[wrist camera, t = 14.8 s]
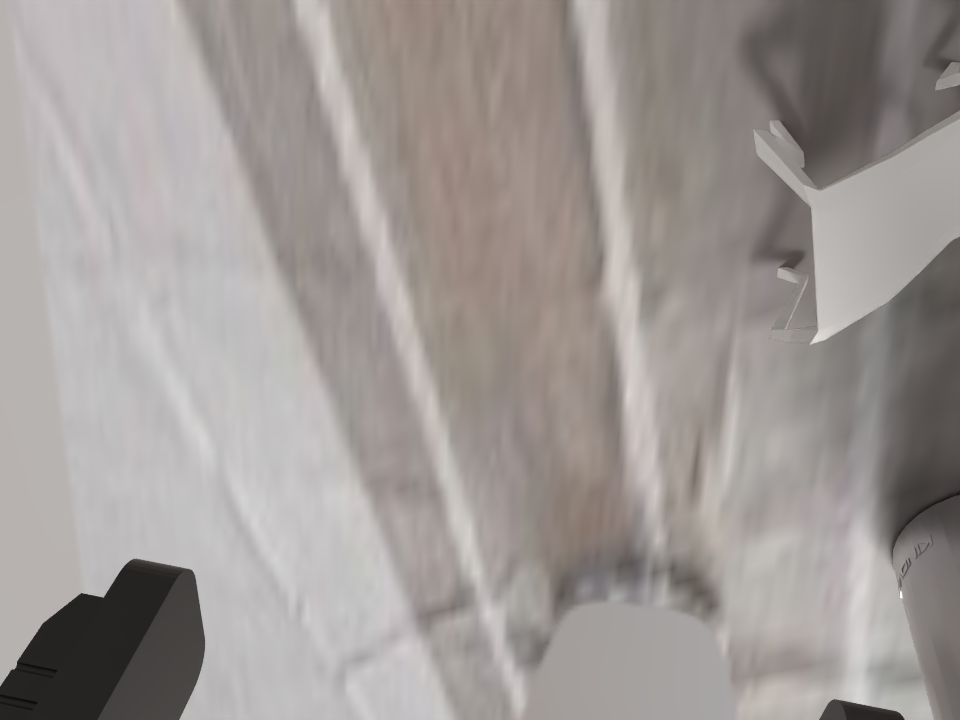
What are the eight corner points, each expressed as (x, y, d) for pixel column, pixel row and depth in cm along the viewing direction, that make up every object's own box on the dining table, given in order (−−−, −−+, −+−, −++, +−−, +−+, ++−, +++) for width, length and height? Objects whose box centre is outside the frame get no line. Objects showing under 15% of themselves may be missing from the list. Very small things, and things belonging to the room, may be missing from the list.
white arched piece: (764, 24, 33) (779, 73, 29) (1007, 43, 32) (1056, 96, 28) (703, 300, 40) (709, 369, 36) (900, 321, 39) (927, 393, 36)
